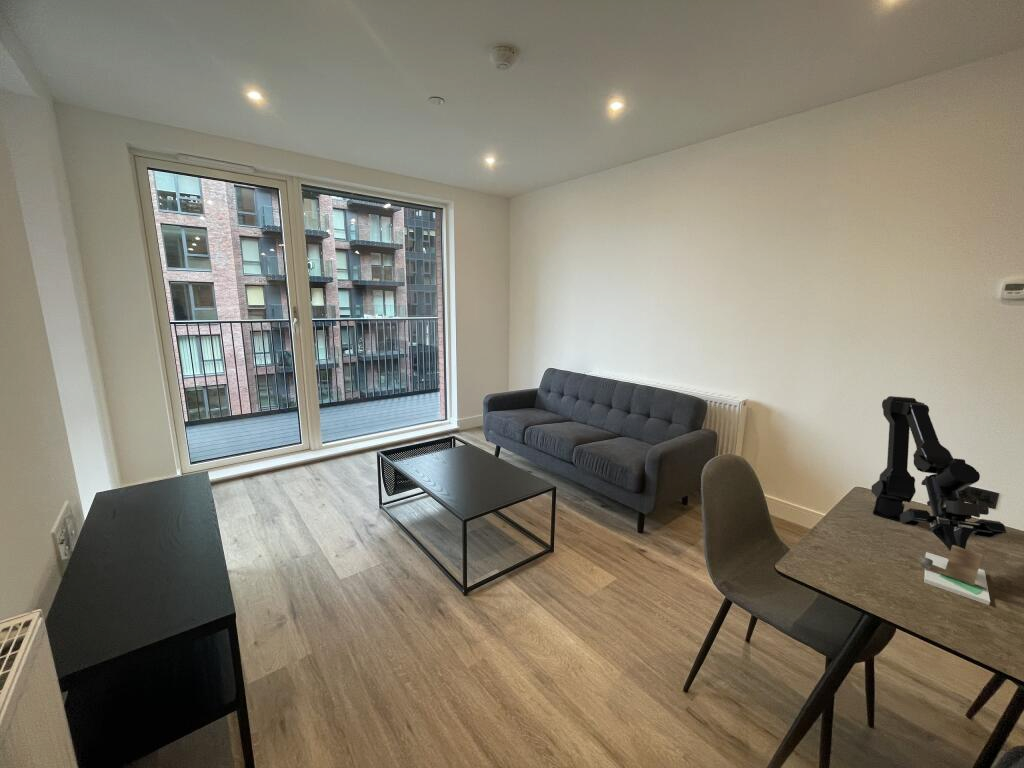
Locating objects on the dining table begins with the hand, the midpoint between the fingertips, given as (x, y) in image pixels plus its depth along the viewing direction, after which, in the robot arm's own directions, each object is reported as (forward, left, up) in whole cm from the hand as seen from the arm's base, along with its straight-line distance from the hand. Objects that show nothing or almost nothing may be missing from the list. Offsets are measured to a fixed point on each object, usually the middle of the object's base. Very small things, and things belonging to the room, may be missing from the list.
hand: (959, 557), depth 103 cm
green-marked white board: (0, +2, -7) cm, 7 cm away
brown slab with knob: (0, -1, -5) cm, 5 cm away
